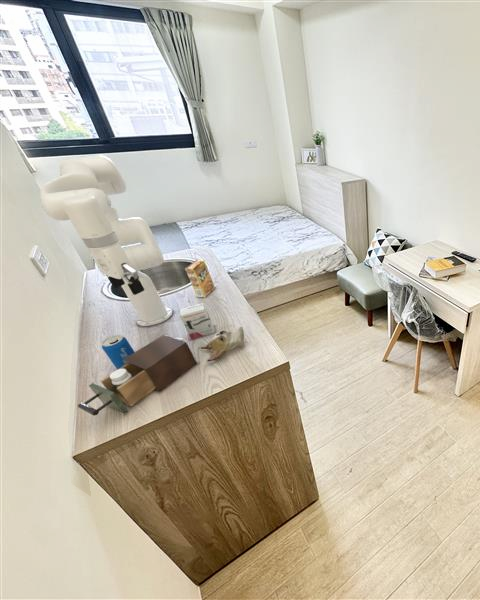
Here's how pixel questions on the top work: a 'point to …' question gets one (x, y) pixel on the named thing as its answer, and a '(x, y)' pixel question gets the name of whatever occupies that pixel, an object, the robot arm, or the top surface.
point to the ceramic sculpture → (224, 343)
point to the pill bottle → (120, 377)
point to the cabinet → (163, 360)
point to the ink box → (197, 320)
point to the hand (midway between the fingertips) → (129, 289)
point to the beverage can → (117, 349)
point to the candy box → (200, 278)
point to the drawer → (129, 391)
